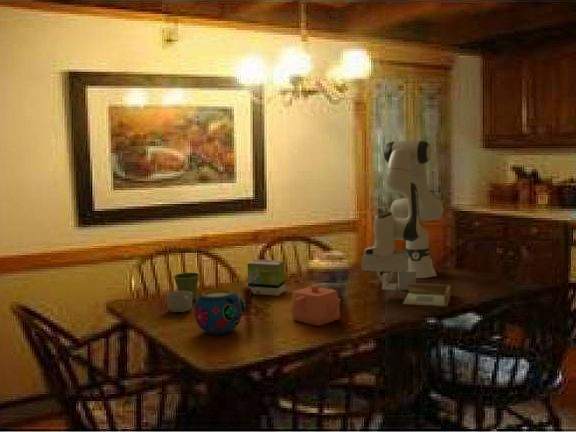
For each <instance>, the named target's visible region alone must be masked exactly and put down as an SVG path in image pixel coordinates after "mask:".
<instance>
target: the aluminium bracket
mask: <svg viewBox="0 0 576 432" xmlns="http://www.w3.org/2000/svg"><path fill="white" fill-rule="evenodd" d="M381 276H382V281H381V289H382V290H388V291H391V290H393V291H396V290H397V289H399V288H398V283H390V281H387V277H389V272H383V274H381Z"/></svg>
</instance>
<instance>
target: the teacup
mask: <svg viewBox="0 0 576 432" xmlns="http://www.w3.org/2000/svg"><path fill="white" fill-rule="evenodd" d="M192 294H193V293H192V292H190V291H178V290H172V291H168V292H167V293H166V303H167V304H166V306H167V308H168V310H170V311H171V312H172V313H175V312H182V313H186V312H185V311H187V312H188V311H190V309H191V308H192V306H193V300H192Z"/></svg>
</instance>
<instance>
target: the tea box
mask: <svg viewBox="0 0 576 432" xmlns="http://www.w3.org/2000/svg"><path fill="white" fill-rule="evenodd" d="M285 270H286V269H285V260H276V259H275V260H273V259H254V260H252V261H250V262H248V263H247V286H248V287H250V288H251V289H252V292H253V295H264V296H265V295H266V296H277V297H278V296H280V295H281V294H283V293H285V291H286V277H285V276H286V273H285ZM248 287H247V288H248Z"/></svg>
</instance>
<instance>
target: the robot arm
mask: <svg viewBox="0 0 576 432" xmlns="http://www.w3.org/2000/svg"><path fill="white" fill-rule="evenodd" d="M383 149H384V150H383V157H384V160H385V161H386V162H387V167H386V173H385V182H386V183H385V184H386V185H387V186H388V188H389V189H390V190H391V191H394V192H395V193H398V194H400V195H402V196H404V198H398V199H395V200H394V201H393V202H392V203H391V206H390V211H381V212H377V213H376V214H375V216H374V221H373V234H374V241H373V245H371V246H368V247H366V248H364V250H363V254H364V255H363V256H362V259H361V265H360V266H361V270H362V271H367V272H369V271H370V272H376V274H377V277H378V278H379V280H378V281H379V282H382V274H381V272H389V276H388V277H387V281H389V282H391V281H392V276H393V275H394V272H395V273H396V272H397V273H398V272H407V271H408V270H415V271H416V279H426V278H432V277H437V276H438V275H437V272H436V269H435V268H434V265H433V259H432V258H431V256H430V247H429V233H428V231H427V230H426V229H425V228H424V227H422V226H421V221H429V222H430V221H435V220H439V219H440V218H441V217H442V216H443V214H444V206H443V203H442V201H441V200H439V199H438V198H436V197H435V195H433V193H431V191H430V189H429V186H428V182H427V170H426V163H428V162H429V161H430V159H431V157H432V148H431V145H430V144H429V142H428V141H424V140H399V141H389V142H387V143H386V144H385V146H384V148H383ZM395 240H398V241H401V240H402V241H405V247H404V249H402V250H401V249H396V247H395V246H396V245H395V244H396V242H395Z"/></svg>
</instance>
